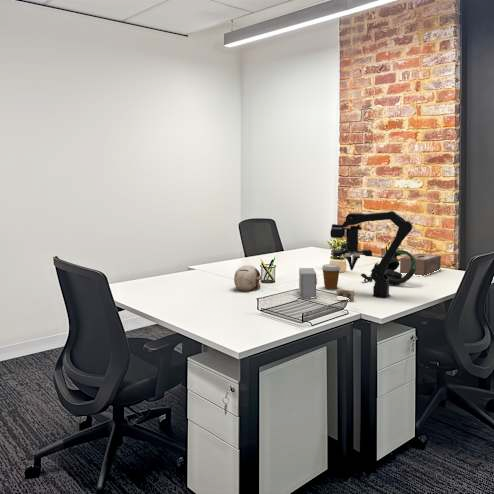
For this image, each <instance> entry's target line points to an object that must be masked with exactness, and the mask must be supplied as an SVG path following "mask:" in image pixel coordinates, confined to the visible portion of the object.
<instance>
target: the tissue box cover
mask: <svg viewBox="0 0 494 494" xmlns="http://www.w3.org/2000/svg"><path fill="white" fill-rule="evenodd" d="M412 255H413V256H414V258H415V260H416V270H415V272H414V274H415V275H422V276H424V275H427V274H429V273H432V272H434V271H437V270H439V269H440V270H441V264H442V263H441V262H442V261H441V258H442V256H441V255H440V254H431V253H430V254H428V253H419V252H418V253H414V254H412ZM410 266H411V263H410V257H409V256H408V255H405V256H403V257H400V261H399V268H400V269H399V273H408V271H409V269H410ZM427 276H428V275H427Z"/></svg>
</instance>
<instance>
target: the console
mask: <svg viewBox="0 0 494 494" xmlns="http://www.w3.org/2000/svg"><path fill="white" fill-rule="evenodd" d="M298 271H299V272H298V276H299V277H298V281H299V282H298V289H300V292H299V295H301V296H300V298H301V299H312V298H311V297H315V296H316V297H317V285H316V278H317V272H316V271H315V269H314V267H300V268H299V270H298Z"/></svg>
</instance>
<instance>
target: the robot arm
mask: <svg viewBox="0 0 494 494" xmlns="http://www.w3.org/2000/svg"><path fill="white" fill-rule="evenodd" d="M387 220H389V221H391V222H392V223H393V224H394V225H395V226H396V227H398V228H397V231H396V234H395V237H394V238H393V240H392V242H391V243H390V245H389V247H388V249H387V250H386V253H384V255H383V257H382V258H383V259H382V258H381V260H382V261H381V260H380V262H379V263H378V262H375V263H374V266H373V268H372V269H371V270H370V272H371V273H370V275H371V278H372V281H374V284H373V287H372V288H373V289H372V290H373V291H372V292H373V295H372V297H378V298H383V299H385V298H388V297H390V296H391V294H390V284H388V283H387V282H388V280H389V278H388V277H387V276H386V275H385V272H386V269H387V266H388V264H389V262H390V261H391V259H392V257H393V256H394V254H395V252H396V251H398V249H399V248H400V246H401V244H402V242H403V241H404V239H405V238H406V237H407V236H408V235H409V234H410V233H411V231H412V230H413V228H414V226H413V223H412V222H411V221H410V220H406V219H404V218H403V217H402V216H401V215H399V214H398V213H396V211H394V210H393V211H392V210H391V211H383V212H382V211H381V212H371V213H362V212H351V213H348V214H347V215H346V217H345V221H344V222H343V223H342V224H335V223H333V224H331V228H330V238H331V239H344V237H345V242H341V243H340V248H339V249H337V248H335V249H332V251H331V255H332V256H333V257H341V256H342V255H343V257H344V258H345V259H346V260H347V262H348V266H349V269H350V271H353V270H354V268H355V265H356V264H357V261H358V260H359V259H360V258H361V256H362V255H363V256H365V257H372V256H373V250H371V249H370V248H369V249H368V248H363V249H361V250H359V230H360V231H361V230H363V227H362V225H360V224H361V223H366V222H376V221H387ZM349 226H350V227H349Z"/></svg>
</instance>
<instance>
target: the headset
mask: <svg viewBox="0 0 494 494" xmlns="http://www.w3.org/2000/svg"><path fill="white" fill-rule="evenodd" d="M403 255H404V256H409V257H410V263H411V266H410V269H409V271H408V273H407V274H406V275H404V276H403V275H402V274H401V273H400V271H399V272H398V271H396V270H397V269H398V268H400V261H399V259H398V257H399V256H403ZM413 255H414V254H412V253H410V252H409V251H407V250H405V249H404V250H397V251H396V252H395V254H394V256H393V257H392V259H391V261H390V262H389V264H388V266H387V269H386V272H385V275H386V276H387V277H388V278H389V280H388V282H387V283H388V284H389V285H391V284H393V285H392V286H395V285H402V284H404V283H406V282H407V281H409V280H410V279H411V278H412V277H414V276H413V274H414V272H415V270H416V260H415V258H414V256H413ZM382 259H383V257H382V258H381V259H380V262H381V261H382ZM360 276H361V278H362V279H363V278H364V279H363V281H364V282H365V283H367V282H372V281H373V279H372V278H371V274H370V275H368V276H367V274H366V273H364V272H363V273H361V274H360Z"/></svg>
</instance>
